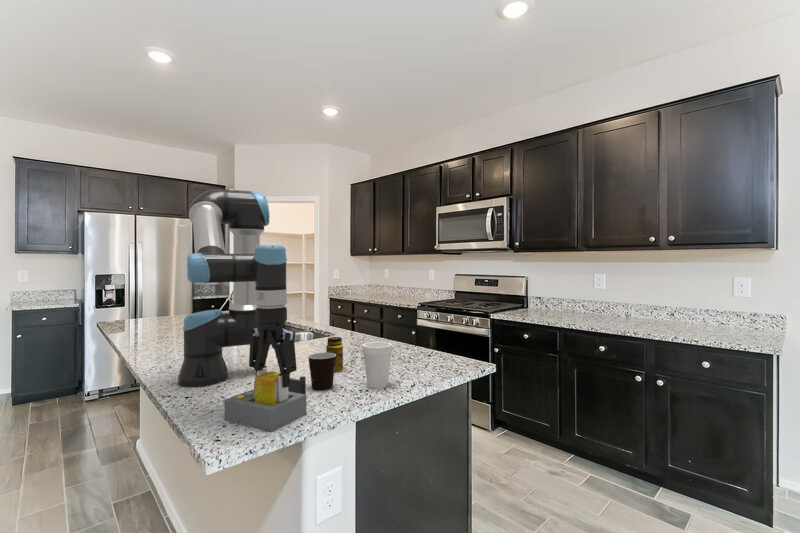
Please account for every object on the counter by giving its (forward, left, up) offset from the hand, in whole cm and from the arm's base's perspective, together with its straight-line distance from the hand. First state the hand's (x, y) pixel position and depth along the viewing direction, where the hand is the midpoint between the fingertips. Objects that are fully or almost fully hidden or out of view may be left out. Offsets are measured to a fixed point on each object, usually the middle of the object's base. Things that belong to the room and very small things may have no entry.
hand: (272, 397), depth 98 cm
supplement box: (0, 0, -5) cm, 5 cm away
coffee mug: (-5, +27, -5) cm, 28 cm away
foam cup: (+10, +35, -5) cm, 36 cm away
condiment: (-14, +43, -5) cm, 45 cm away
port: (-2, 0, -5) cm, 6 cm away
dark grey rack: (-10, +13, -5) cm, 17 cm away
